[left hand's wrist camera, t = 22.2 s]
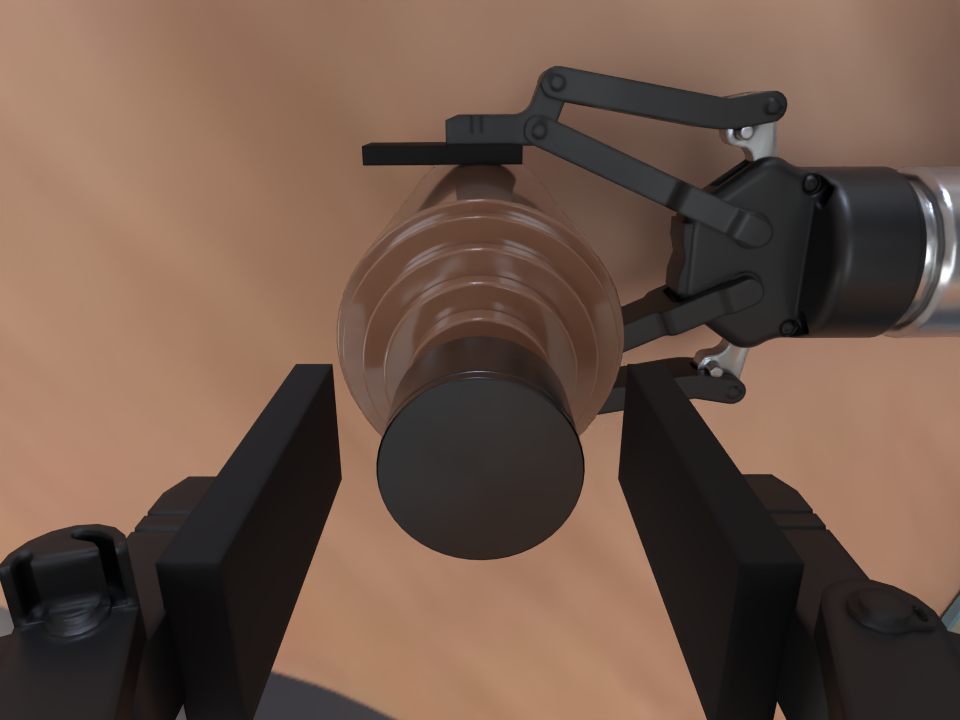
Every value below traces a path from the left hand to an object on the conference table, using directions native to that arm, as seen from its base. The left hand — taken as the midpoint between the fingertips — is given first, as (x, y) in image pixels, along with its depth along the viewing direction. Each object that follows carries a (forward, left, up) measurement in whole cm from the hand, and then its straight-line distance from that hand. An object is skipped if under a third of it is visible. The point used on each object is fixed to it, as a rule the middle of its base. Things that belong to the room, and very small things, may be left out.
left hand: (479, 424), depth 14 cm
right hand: (+4, -3, -17) cm, 18 cm away
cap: (0, 0, +2) cm, 2 cm away
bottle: (0, 0, -24) cm, 24 cm away
